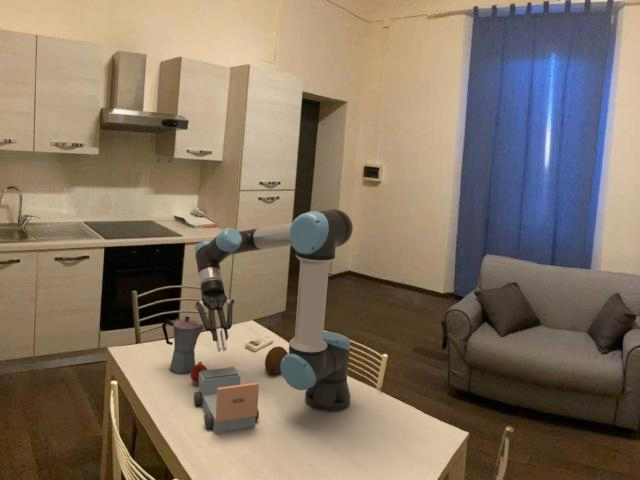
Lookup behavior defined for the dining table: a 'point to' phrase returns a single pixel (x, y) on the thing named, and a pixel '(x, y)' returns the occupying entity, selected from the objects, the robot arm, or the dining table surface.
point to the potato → (274, 359)
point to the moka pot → (183, 343)
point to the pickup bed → (208, 398)
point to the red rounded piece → (197, 371)
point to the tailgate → (237, 402)
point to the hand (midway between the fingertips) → (222, 349)
